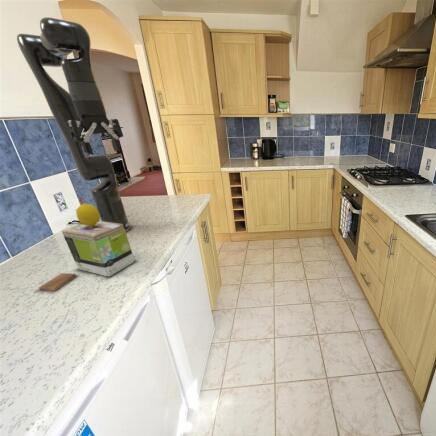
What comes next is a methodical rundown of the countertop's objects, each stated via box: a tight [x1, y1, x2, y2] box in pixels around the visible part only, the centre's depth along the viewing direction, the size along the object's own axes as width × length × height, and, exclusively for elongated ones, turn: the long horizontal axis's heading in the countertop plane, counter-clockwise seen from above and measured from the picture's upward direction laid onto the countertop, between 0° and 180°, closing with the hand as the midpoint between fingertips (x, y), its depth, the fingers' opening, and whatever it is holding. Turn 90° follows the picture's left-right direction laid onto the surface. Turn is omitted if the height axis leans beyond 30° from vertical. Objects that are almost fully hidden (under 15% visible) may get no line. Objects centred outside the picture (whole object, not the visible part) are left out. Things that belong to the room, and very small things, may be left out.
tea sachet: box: [38, 273, 77, 292], centre depth 75 cm, size 5×7×1 cm
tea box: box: [61, 220, 135, 278], centre depth 81 cm, size 15×10×15 cm
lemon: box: [75, 202, 101, 227], centre depth 76 cm, size 6×6×8 cm
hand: (104, 152), depth 82 cm, fingers open, 8 cm apart
